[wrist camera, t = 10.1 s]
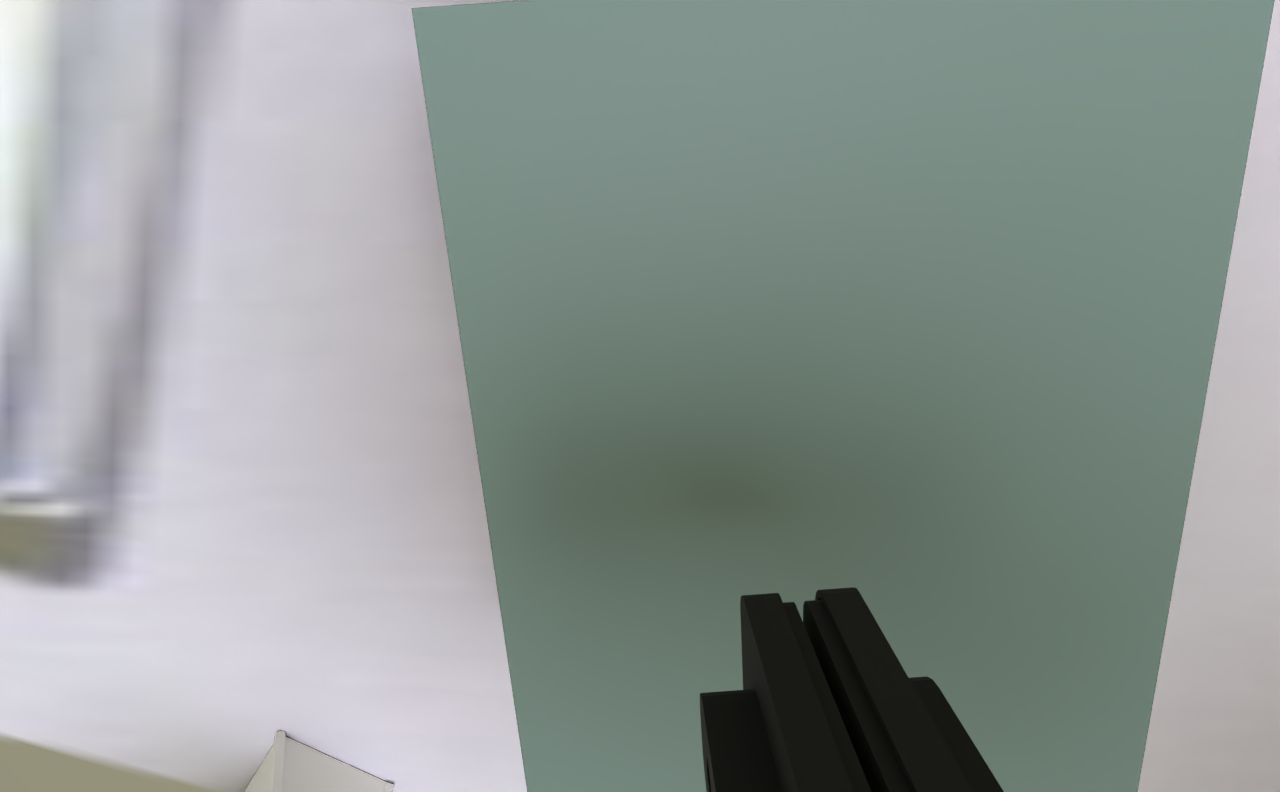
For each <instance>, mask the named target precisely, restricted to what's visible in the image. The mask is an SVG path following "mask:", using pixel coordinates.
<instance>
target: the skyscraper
mask: <svg viewBox="0 0 1280 792" xmlns="http://www.w3.org/2000/svg"><path fill="white" fill-rule="evenodd" d="M393 788H394V784H391V783H388V782H385V781H383V780H381V779H379V778H377V777H374V776H372V775H370V774H368V773H365V772H363V771H361V770H359V769H357V768H354V767H352V766H350V765H348V764H346V763H343V762H341V761H339V760H337V759H334V758H332V757H330V756H328V755H326V754H323V753H321V752H319V751H317V750H315V749H312V748H310V747H308V746H306V745H303V744H301V743H299V742H297V741H295V740H292V739H290V738H288V737H286V736H285V732H284V731H279V732H277V733H276V735H275V737H274V744H273V746H272V748H271V749H270V751H269V752H268V754H267V756H266V757H265V759H264V760H263V762H262V764H261V765H260V767H259V768H258V770H257V772H256V773H255V775H254V777H253V778H252V780H251V781H250V783H249V785H248V786H247V788H246V789H245V791H244V792H392V791H393Z"/></svg>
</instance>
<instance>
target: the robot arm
mask: <svg viewBox="0 0 1280 792" xmlns="http://www.w3.org/2000/svg"><path fill="white" fill-rule="evenodd" d="M740 614H741V642H742V671H743V690H735V691H721V692H707V693H700V716H701V734H702V749H703V761H704V772H705V782H706V791H707V792H1004V791H1003V789H1002V788H1001V786H1000V785H999V783H998V781H997V780H996V778H995V777H994V775H993V773H992V772H991V770H990V769H989V767H988V765H987V764H986V762H985V761H984V759H983V757H982V756H981V754H980V752H979V751H978V749H977V748H976V746H975V744H974V743H973V741H972V740H971V738H970V736H969V735H968V733H967V732H966V730H965V728H964V727H963V725H962V724H961V722H960V720H959V719H958V717H957V716H956V714H955V712H954V711H953V709H952V707H951V706H950V704H949V703H948V701H947V699H946V698H945V696H944V695H943V693H942V691H941V690H940V688H939V687H938V685H937V684H936V683H935V682H934V680H933V679H931V678H929V677H927V676H926V677H913V678H908V676H907V674H906V672H905V671H904V669H903V667H902V665H901V664H900V662H899V660H898V658H897V657H896V655H895V653H894V651H893V650H892V648H891V646H890V644H889V643H888V641H887V639H886V637H885V636H884V634H883V632H882V630H881V629H880V627H879V625H878V623H877V622H876V620H875V618H874V617H873V615H872V613H871V611H870V610H869V608H868V606H867V604H866V603H865V601H864V599H863V597H862V596H861V594H860V592H859V591H858V589H857V588H855V587H850V588H837V589H823V590H817V592H816V596H815V600H811V601H805V602H804V605H803V621H802V619H801V616H800V614H799V611H798V609H797V606H796V604H795V603H794V602H784V603H783V602H782V599H781V597H780V595H779V593H768V594H755V595H741V600H740Z"/></svg>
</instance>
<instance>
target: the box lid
mask: <svg viewBox="0 0 1280 792" xmlns="http://www.w3.org/2000/svg"><path fill="white" fill-rule="evenodd" d="M1273 6H1274V0H523V1H509V2H494V3H480V4H465V5H451V6H436V7H422V8H412V15H413V21H414V28H415V35H416V42H417V49H418V55H419V62H420V69H421V76H422V82H423V89H424V96H425V103H426V109H427V116H428V123H429V130H430V136H431V143H432V150H433V157H434V164H435V170H436V177H437V184H438V191H439V197H440V204H441V211H442V218H443V224H444V231H445V238H446V245H447V251H448V258H449V265H450V272H451V278H452V285H453V292H454V299H455V306H456V312H457V319H458V326H459V333H460V339H461V346H462V353H463V360H464V366H465V373H466V380H467V387H468V393H469V400H470V407H471V414H472V421H473V427H474V434H475V441H476V448H477V454H478V461H479V468H480V475H481V481H482V488H483V495H484V502H485V508H486V515H487V522H488V529H489V535H490V542H491V549H492V556H493V563H494V569H495V576H496V583H497V590H498V596H499V603H500V610H501V617H502V623H503V630H504V637H505V644H506V650H507V657H508V664H509V671H510V678H511V684H512V691H513V698H514V705H515V711H516V718H517V725H518V732H519V738H520V745H521V752H522V759H523V765H524V772H525V779H526V786H527V792H707V791H706V782H705V772H704V761H703V749H702V734H701V716H700V693H707V692H721V691H735V690H743V671H742V642H741V614H740V600H741V595H755V594H768V593H779V595H780V597H781V599H782V602H783V603H784V602H794V603H795V604H796V606H797V609H798V611H799V614H800V616H801V619H802V621H803V605H804V602H805V601H811V600H815V596H816V592H817V590H823V589H837V588H850V587H855V588H857V589H858V591H859V592H860V594H861V596H862V597H863V599H864V601H865V603H866V604H867V606H868V608H869V610H870V611H871V613H872V615H873V617H874V618H875V620H876V622H877V623H878V625H879V627H880V629H881V630H882V632H883V634H884V636H885V637H886V639H887V641H888V643H889V644H890V646H891V648H892V650H893V651H894V653H895V655H896V657H897V658H898V660H899V662H900V664H901V665H902V667H903V669H904V671H905V672H906V674H907V676H908V678H913V677H926V676H927V677H929V678H931V679H933V680H934V682H935V683H936V684H937V685H938V687H939V688H940V690H941V691H942V693H943V695H944V696H945V698H946V699H947V701H948V703H949V704H950V706H951V707H952V709H953V711H954V712H955V714H956V716H957V717H958V719H959V720H960V722H961V724H962V725H963V727H964V728H965V730H966V732H967V733H968V735H969V736H970V738H971V740H972V741H973V743H974V744H975V746H976V748H977V749H978V751H979V752H980V754H981V756H982V757H983V759H984V761H985V762H986V764H987V765H988V767H989V769H990V770H991V772H992V773H993V775H994V777H995V778H996V780H997V781H998V783H999V785H1000V786H1001V788H1002V789H1003V791H1004V792H1137V791H1138V785H1139V780H1140V774H1141V768H1142V762H1143V757H1144V751H1145V745H1146V739H1147V733H1148V728H1149V722H1150V716H1151V710H1152V705H1153V699H1154V693H1155V687H1156V681H1157V676H1158V670H1159V664H1160V658H1161V653H1162V647H1163V641H1164V635H1165V630H1166V624H1167V618H1168V612H1169V606H1170V601H1171V595H1172V589H1173V583H1174V578H1175V572H1176V566H1177V560H1178V555H1179V549H1180V543H1181V537H1182V531H1183V526H1184V520H1185V514H1186V508H1187V503H1188V497H1189V491H1190V485H1191V479H1192V474H1193V468H1194V462H1195V456H1196V451H1197V445H1198V439H1199V433H1200V428H1201V422H1202V416H1203V410H1204V404H1205V399H1206V393H1207V387H1208V381H1209V376H1210V370H1211V364H1212V358H1213V353H1214V347H1215V341H1216V335H1217V329H1218V324H1219V318H1220V312H1221V306H1222V301H1223V295H1224V289H1225V283H1226V277H1227V272H1228V266H1229V260H1230V254H1231V249H1232V243H1233V237H1234V231H1235V226H1236V220H1237V214H1238V208H1239V202H1240V197H1241V191H1242V185H1243V179H1244V174H1245V168H1246V162H1247V156H1248V151H1249V145H1250V139H1251V133H1252V127H1253V122H1254V116H1255V110H1256V104H1257V99H1258V93H1259V87H1260V81H1261V75H1262V70H1263V64H1264V58H1265V52H1266V47H1267V41H1268V35H1269V29H1270V24H1271V18H1272V12H1273Z"/></svg>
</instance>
